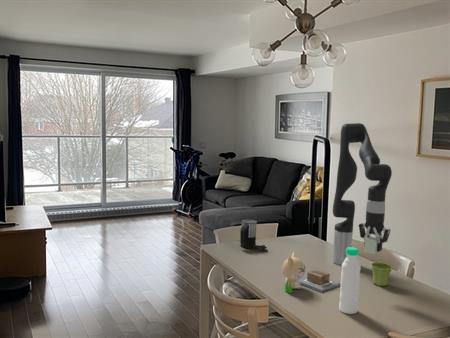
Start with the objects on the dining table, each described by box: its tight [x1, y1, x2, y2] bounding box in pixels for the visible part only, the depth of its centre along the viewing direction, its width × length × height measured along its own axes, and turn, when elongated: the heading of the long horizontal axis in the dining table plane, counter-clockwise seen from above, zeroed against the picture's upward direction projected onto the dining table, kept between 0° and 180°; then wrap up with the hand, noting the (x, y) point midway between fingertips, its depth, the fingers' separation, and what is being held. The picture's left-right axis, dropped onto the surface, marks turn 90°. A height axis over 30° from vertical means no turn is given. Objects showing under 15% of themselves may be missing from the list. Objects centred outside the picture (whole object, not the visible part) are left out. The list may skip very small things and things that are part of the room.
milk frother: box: [239, 219, 268, 251], centre depth 257 cm, size 14×16×15 cm
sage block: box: [363, 235, 382, 255], centre depth 192 cm, size 5×5×6 cm
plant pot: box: [370, 262, 393, 287], centre depth 205 cm, size 9×9×9 cm
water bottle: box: [338, 246, 362, 315], centre depth 173 cm, size 7×7×25 cm
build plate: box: [299, 276, 341, 293], centre depth 202 cm, size 14×14×1 cm
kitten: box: [281, 251, 306, 294], centre depth 196 cm, size 15×10×15 cm
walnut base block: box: [306, 269, 330, 286], centre depth 202 cm, size 7×7×4 cm
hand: (372, 249), depth 192 cm, fingers closed on sage block, 5 cm apart
